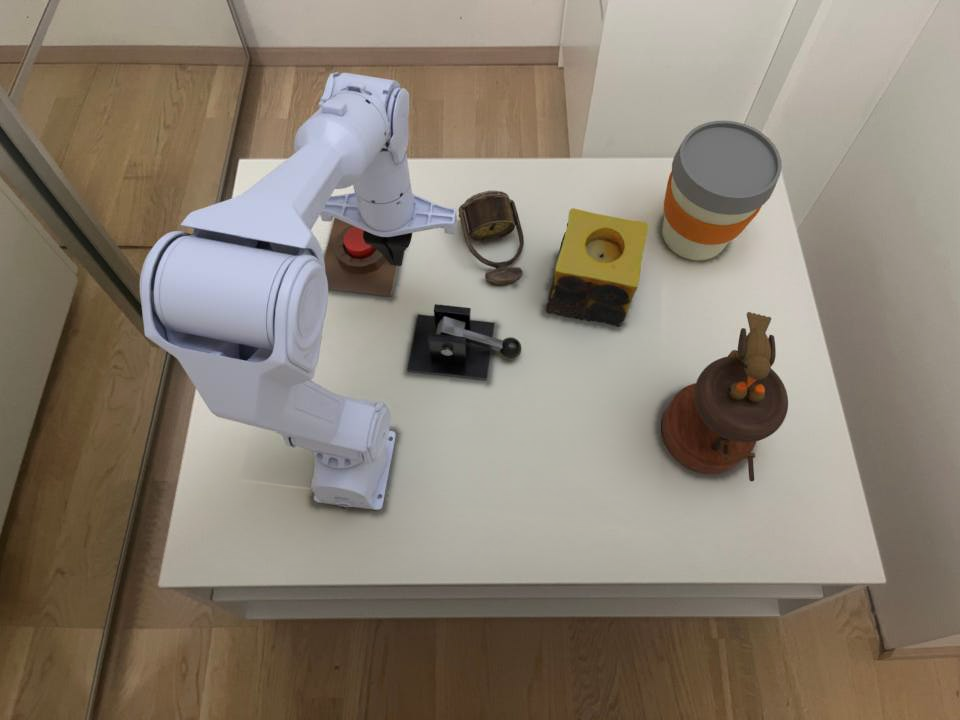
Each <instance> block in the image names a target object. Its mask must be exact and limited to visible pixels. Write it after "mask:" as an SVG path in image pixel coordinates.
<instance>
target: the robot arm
mask: <svg viewBox="0 0 960 720" xmlns="http://www.w3.org/2000/svg"><path fill="white" fill-rule="evenodd" d="M324 86H325V87H324V91H323V94H322V96H321V97H320V98H319V102H318V109H317V110H316V111H315V112H314V113H312V115H311V116H310V117H309V118H308V119H306V121H305V122H304V123H303V124H302V125H301V126H300V127H299V128H298V130H297V131H296V133H295V135H294V141H293V151H294V153H293V154H292V155H291V156H289V157H288V158H286V160H284V161H282V162H281V164H279V165H278V166H277V167H275V168H274V169H273V170H271V171H270V172H269V173H268V174H266V175H265V176H264V177H262V178H261V179H260V180H258V181H257V182H255V184H253V185H252V186H251V187H249V188H248V189H247V190H246V191H245V192H243V193H241V194H239V195H237V196H235V197H232V198H229V199H226V200H223V201H220V202H217V203H214V204H211V205H207V206H204V207H202V208H200V209H196V210H193V211H191V212H190V213H188V214H187V215H186V217H185V218H184V219H183V221H182V222H181V223H180V226H181V227H186V228H191V229H193V231H192V233H189V232H186V231H181V230H173V231H170V232H167V233H166V234H164V235H162V236H161V237H160V238H159V239H158V240H157V241H156V243H154V244H153V246H152V248H151V249H150V250H149V252H148V253H147V255H146V257H145V259H144V262H143V264H142V268H141V270H140V276H139V299H140V304H141V313H142V321H143V330H144V336H145V338H147V339H148V340H150V341H152V342H153V343H154V344H155V345H157V346H159V348H161V349H163V350H164V351H165V352H167V353H169V354H170V355H171V356H173V357H174V358H176V359H177V361H178V362H179V364H180V366H181V367H182V368H183V370H184V372H185V373H186V375H187V376H188V378H189V380H190V381H191V383H192V384H193V386H194V388H195V389H196V391H197V392H198V394H199V395H200V397H201V399H202V401H203V402H204V404H205V406H207V408H208V409H209V411H210V412H211V413H212V414H213V415H214V416H215V417H217V418H220V419H225V420H228V421H232V422H237V423H240V424H244V425H246V426H247V425H248V426H252V427H256V428H260V429H263V430H267V431H271V432H275V433H276V434H278V435H280V436H281V437H282V439H283V441H284V444H285V445H286V446H287V447H290V448H296V447H297V448H301V449H305V450H307V451H309V452H311V453H312V456H313V461H314V463H313V464H314V469H313V475H312V479H311V483H310V490H311V492H312V493H313V494H314V495H313V500H314V501H315V503H321V504H326V505H327V504H328V505H335V506H339V507H342V508H343V507H344V508H357V509H358V508H359V509H365V510H366V509H367V510H375V511H380V510H382V508H383V507H384V502H385V495H386V490H387V484H388V479H389V475H390V474H389V473H390V468H391V463H392V459H393V452H394V448H395V442H396V437H397V434H396V432H395V431H393V430H390V427H391V411H390V408H389V407H388V404H387V403H386V402H384V401H378V402H376V401H371V400H365V399H361V398H357V397H352V396H347V395H342V394H336V393H335V392H334V391H331V390H329V389H328V388H326V387H324V386H322V385H320V384H318V383H317V382H315V381H313V379H314V378H315V373H316V368H317V365H318V363H319V358H320V351H321V344H322V337H323V330H324V323H325V319H326V314H327V309H328V303H329V290H328V282H327V277H326V274H325V262H324V257H325V255H324V253H323V249H322V246H321V244H320V242H319V240H318V239H317V237H316V235H315V234H314V233H313V232H312V229H313V227H314V226H315V224H316V222H317V221H318V219H319V217H320V219H321V221H322V222H330V223H331V222H332V221H334V219H335V218H337V219H339V220H342V221H344V222H346V223H348V224H351V225H353V226H355V227H358V228H360V229H362V230H364V232H363V239H364V242H365V243H366V244H369V245H371V246H373V247H374V248H376V249H377V250H378V251H379V252H380V253H381V254H382V255H383V256H384V257H385V258H386V259H387V261H388V262H389V264H390V265H394V266H398V267H401V266H403V261H404V256H405V251H406V250H407V249H408V248H409V246H410V245H411V242H412V238H413V234H414V233H417V232H423V231H428V230H435V229H443V231H444V233H445V234H447V235H455V233H456V227H457V221H458V218H457V209H456V208H452V207H448V206H447V207H446V206H443V205H440V204H438V203H436V202H434V201H431V200H428V199H426V198H423V197H421V196H419V195H416V194H414V193H413V190H412V183H411V176H410V168H409V161H408V155H407V150H408V145H409V142H410V129H409V118H410V92H409V91H408V90H407V89H406V88H404V87H402V88H401V85H400V82H399V81H398V80H396V79H395V80H394V79H390V78H389V79H388V78H382V77H376V76H369V75H362V74H356V73H351V72H341V73H340V72H337V71H335V72H333V73H332V72H331V73H330V74H329V76H328V78H327V80H326V83H325V85H324ZM351 186H353V187H352V188H353V191H354V192H350V193H344V194H338V195H333V193H334V191H335V190H343V189H348V188H349V187H351ZM390 438H392V440H390ZM380 495H381V497H380V498H379V496H380Z"/></svg>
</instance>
